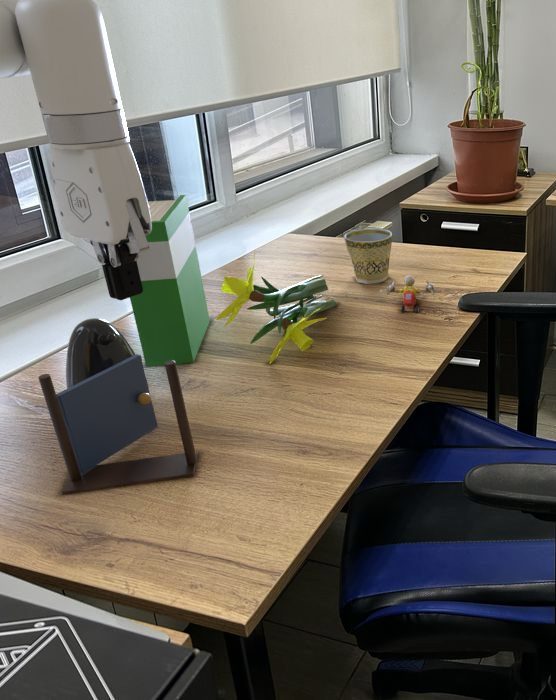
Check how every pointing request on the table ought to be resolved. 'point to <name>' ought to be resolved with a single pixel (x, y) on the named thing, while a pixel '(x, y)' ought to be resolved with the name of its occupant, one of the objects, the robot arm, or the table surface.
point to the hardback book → (170, 288)
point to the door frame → (126, 470)
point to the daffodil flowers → (275, 299)
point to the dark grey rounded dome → (94, 350)
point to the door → (107, 412)
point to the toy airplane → (410, 293)
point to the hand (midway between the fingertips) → (127, 295)
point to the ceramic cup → (369, 253)
